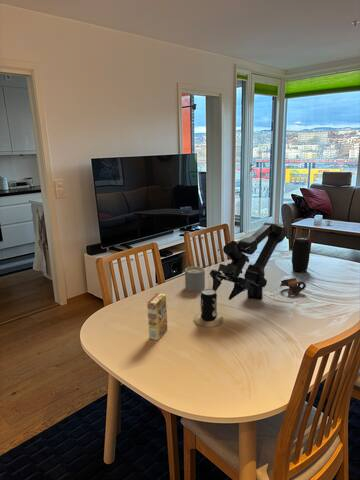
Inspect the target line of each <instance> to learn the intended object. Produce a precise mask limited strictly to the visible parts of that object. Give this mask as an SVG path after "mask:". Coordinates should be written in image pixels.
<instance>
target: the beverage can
mask: <svg viewBox="0 0 360 480" xmlns="http://www.w3.org/2000/svg"><path fill="white" fill-rule="evenodd" d="M216 292H217V290H216V291H215V290H212V288H205V289H204V290H202V291H201V293H200V313H201V318H202V319H203V320H204V321H213V320H215V319H216V317H217V314H218V313H217V307H218V305H217V304H218V303H217V301H218V300H217V297H218V295H217V293H216Z"/></svg>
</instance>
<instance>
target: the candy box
mask: <svg viewBox="0 0 360 480" xmlns="http://www.w3.org/2000/svg"><path fill="white" fill-rule="evenodd" d="M146 306H147V319H148V320H147V321H148V337H149V339H150V340H155V341H159V340H160V339H161V338H162V337H163V336H164V335H165V333H166V332H167V331H168V314H167V312H168V311H167V307H168V306H167V294H166V293H165V294H164V293H156V294H155V295H154V296H152V297H151V298H150V299H149V300H148V301H147V304H146Z"/></svg>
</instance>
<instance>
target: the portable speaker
mask: <svg viewBox="0 0 360 480" xmlns="http://www.w3.org/2000/svg"><path fill="white" fill-rule="evenodd" d="M310 250H311V245H310V237H308V236H299V235H297V236H294V240H293V244H292V252H291V265H292V272H294V273H295V272H300V273H303V274H304V273H307V270H308V266H309V262H310Z"/></svg>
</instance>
